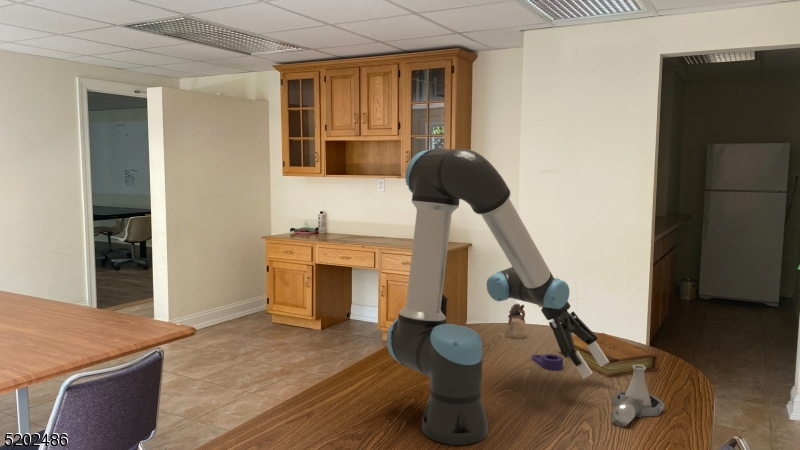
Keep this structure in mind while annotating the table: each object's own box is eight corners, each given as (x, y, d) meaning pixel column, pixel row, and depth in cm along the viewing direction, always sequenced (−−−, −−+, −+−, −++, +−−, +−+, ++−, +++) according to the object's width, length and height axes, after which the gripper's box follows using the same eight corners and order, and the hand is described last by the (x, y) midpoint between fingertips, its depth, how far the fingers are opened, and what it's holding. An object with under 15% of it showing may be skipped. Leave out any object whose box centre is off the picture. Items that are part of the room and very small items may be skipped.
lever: (567, 369, 174) (567, 359, 174) (549, 372, 172) (550, 362, 172) (542, 357, 185) (542, 347, 185) (526, 359, 183) (526, 350, 183)
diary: (656, 372, 175) (658, 353, 174) (607, 379, 168) (608, 360, 167) (604, 348, 196) (605, 332, 195) (558, 354, 189) (559, 337, 189)
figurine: (514, 332, 212) (515, 300, 211) (530, 336, 207) (531, 303, 206) (502, 335, 208) (503, 303, 207) (518, 340, 202) (519, 306, 201)
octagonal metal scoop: (644, 433, 132) (646, 414, 132) (595, 419, 139) (596, 401, 139) (667, 405, 148) (668, 388, 148) (621, 394, 155) (622, 378, 155)
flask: (646, 399, 151) (649, 362, 150) (656, 411, 144) (659, 372, 143) (618, 398, 151) (620, 361, 150) (626, 409, 144) (628, 370, 143)
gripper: (558, 302, 173) (600, 366, 166) (522, 315, 153) (568, 388, 146) (578, 289, 169) (622, 353, 162) (543, 300, 149) (592, 374, 142)
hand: (596, 370), depth 154 cm, fingers open, 13 cm apart
